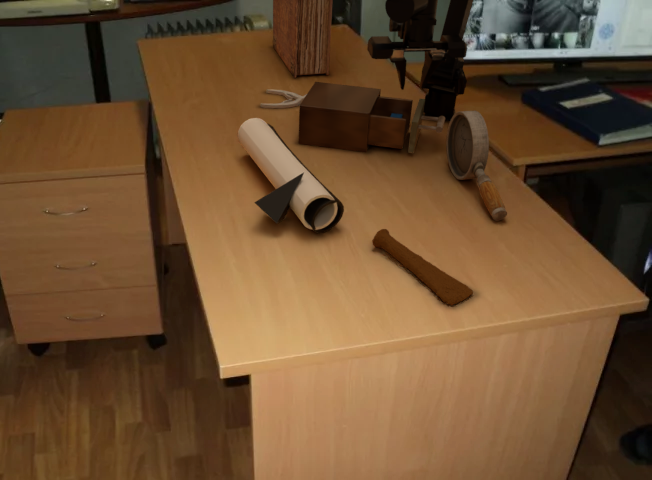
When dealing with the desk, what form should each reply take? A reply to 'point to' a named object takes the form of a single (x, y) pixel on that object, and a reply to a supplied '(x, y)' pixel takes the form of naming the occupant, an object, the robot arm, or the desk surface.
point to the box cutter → (396, 115)
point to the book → (303, 35)
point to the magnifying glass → (473, 157)
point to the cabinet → (337, 116)
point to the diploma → (288, 180)
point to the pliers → (287, 102)
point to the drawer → (398, 123)
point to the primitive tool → (423, 269)
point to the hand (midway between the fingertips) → (411, 88)
